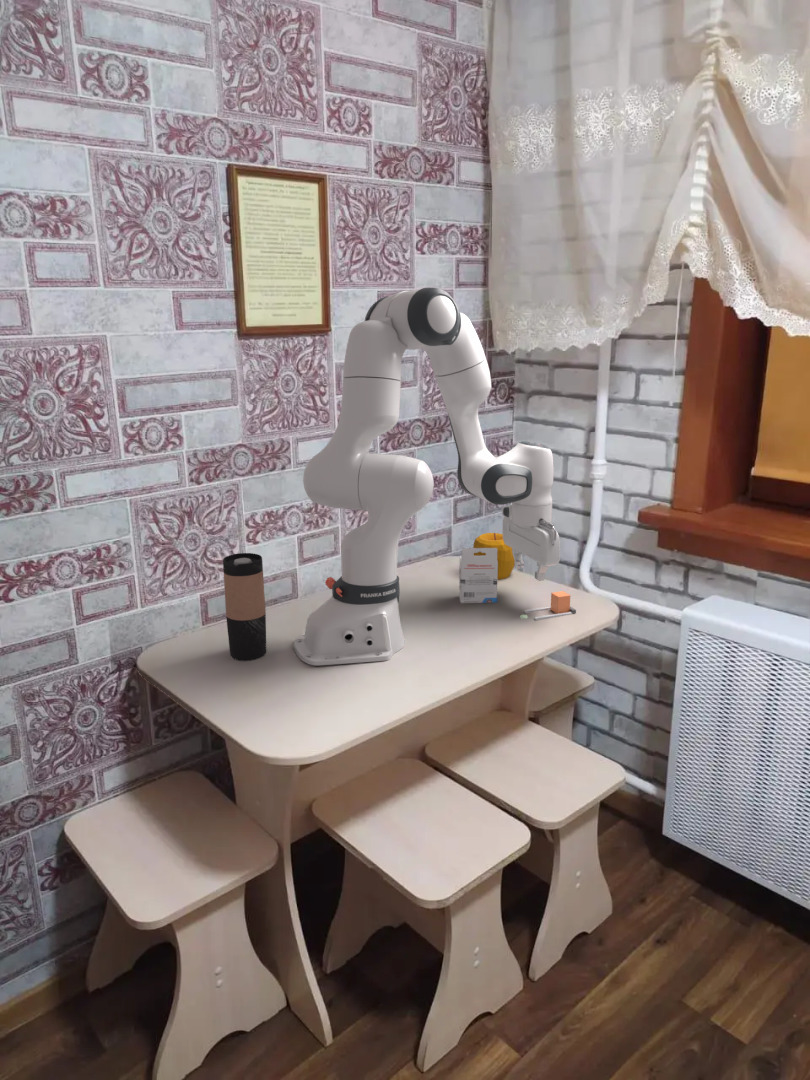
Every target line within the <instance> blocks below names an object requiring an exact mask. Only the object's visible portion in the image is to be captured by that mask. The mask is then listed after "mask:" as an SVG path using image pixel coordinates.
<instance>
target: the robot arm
mask: <svg viewBox="0 0 810 1080" xmlns="http://www.w3.org/2000/svg"><path fill="white" fill-rule="evenodd" d="M346 344H347V345H346V349H345V356H344V361H343V362H344V363H343V374H342V375H343V376H342V391H341V392H342V393H341V405H340V413H339V420H338V423H337V427H336V429H335V431H334V433H333V435H332V437H331V438H330V440H329V441H328V443H327V444H326V445H325V447H323V449H321V450H320V451H319V452H318V453H317V454H315V455H314V456H312V457H311V459H310V460H309V461H308V463H307V464H306V467H305V468H304V471H303V477H302V482H303V487H304V490H305V493H306V496H307V497H308V498H309V499H310V501H311V502H313V503H315V504H318V505H322V506H325V507H329V508H332V509H343V510H358V511H365V512H368V513H367V514H368V517H367V521H366V522H367V523H365V524H361V525H359V526H357V527H356V528H354V529H351V530H350V531H348V533H346V535H344V537H343V539H342V540H341V544H340V564H341V566H340V568H341V576H340V577H339V578H338V579H337V580H335V578H334V577H330V576H329V577H327V578H326V580H325V585H326V586H327V588H328V589H330V590H331V593H332V596H331V597H330V598H329V599H328V600H326V601H324V603H322V604H321V605H320V606H319V607H318V608H316V609H315V610H314V611H312V612H311V613H310V614H309V616H307V619H306V623H305V627H304V628H305V629H304V634H302V635H298V636H296V638H295V640H294V641H293V642H294V643H293V649H294V653H295V654H296V655H297V657H298V658H299V659H300V660H301V661H303V662H304V663H306V664H308V665H310V666H330V665H331V666H332V665H342V664H343V665H345V664H359V663H372V662H384V661H385V662H386V661H388V660H389V661H390V659H392V657H393V655H394V654H395V653H397V652H399V651H400V650H402V649H403V648H404V647H405V645H406V639H405V635H404V633H403V628H402V624H401V618H400V611H399V603H400V595H401V588H400V577H399V576H398V551H399V541H400V537H401V534H402V531H403V530H404V528H405V526H406V524H407V523H408V522H409V520H411V518H412V517H413V516H414V515H416V514H417V513H418V512H420V511H421V510H422V509H423V508H425V506H426V505H428V503H429V501H430V499H431V498H432V496H433V491H434V488H435V487H434V486H435V483H434V475H433V473H432V470H431V468H430V467H429V465H428V464H427V463H426V462H425V461H424V460H421V459H418V458H415V457H412V456H406V455H401V454H388V453H386V454H385V453H383V454H382V453H370V447H371V444H372V443H373V441H374V440H375V439H376V438H377V437H380V436H381V435H384V434H385V433H388V432H389V431H391V430H392V429H393V428H394V427H395V426H396V425H397V423H398V422H399V419H400V409H401V408H400V407H401V406H400V405H401V390H402V389H401V388H402V386H401V385H402V381H401V380H402V360H403V356H404V354H405V352H406V350H409V351H414V350H419V349H420V350H421V349H423V350H424V352H425V353H426V354H427V356H428V357H429V362H430V364H431V368H432V372H433V375H434V378H435V381H436V384H437V387H438V390H439V392H440V394H441V397H442V399H443V402H444V406H445V409H446V412H447V415H448V420H449V425H450V428H451V429H450V430H451V432H452V436H453V439H454V443H455V446H456V447H455V448H456V451H457V458H458V459H457V460H458V462H457V471H456V472H457V481H458V484H459V486H460V487H461V489H462V490H463V491H464V492H465V493H466V494H469V495H471V496H472V497H477V498H479V499H482V500H483V501H486V502H488V503H489V504H492V505H496V506H497V505H501V506H502V505H504V506H502V508H501V515H502V516H503V517H502V518H503V519H502V534H503V540H504V543H505V544H506V545H507V546H509V547H511V548H512V553H513V557H514V560H515V565H514V568H516V569H518V570H520V569H524V568H525V560H523V559H524V558H523V555H524V556H526V557H528V558H529V559H532V560H533V561H535V562H536V565H537V570H536V571H534V579H535V580H536V581H538V582H541V581H545V579H546V573H547V570H548V569H549V567H550V566H556V565H558V564H560V561H561V547H560V545H561V544H560V535H559V532H558V531H557V530H556V528H555V525H554V523H552V518H553V517H552V516H553V497H552V488H553V485H554V478H555V477H554V476H555V475H554V474H555V473H554V472H555V470H554V456H553V452H552V450H551V449H550V447H548V445H545V444H542V443H539V442H538V443H537V442H533V441H527V440H526V441H519V442H517V444H516V445H515V446H514V447H513V448H512V449H510V450H508V451H507V452H505V453H503V454H502V455H499V456H497V457H496V456H495V455H494V454H492V453H491V452H490V451H489V450H488V448H487V446H486V444H485V440H484V435H483V431H482V427H481V424H480V419H479V409H480V406H481V405H482V404H483V403H484V402H485V401H486V400H487V398H488V396H490V395H489V394H490V392H491V390H492V379H491V371H490V367H489V363H488V361H487V357H486V354H485V351H484V348H483V345H482V343H481V341H480V338H479V336H478V333H477V332H476V329H475V327H474V326H473V324H472V321H471V320H470V318H469V317H468V316H467V315H466V314H464V313H463V312H460V310H459V307H458V305H457V303H456V301H455V300H454V298H453V297H452V296H451V295H450V294H449V293H448V291H445V290H444V289H441V288H437V287H422V288H420V289H413V290H412V289H411V290H403V291H399V292H396V293H394V294H391V295H389V296H385V297H384V296H383V297H382V298H380V299H378V300H377V301H375V302H374V303H373V304H372V305H370V307H369V309H368V310H367V313H366V314H365V318H364V321H361V322H359V323H357V324H355V325H354V326H353V328H352V329H351V331H350V332H349V335H348V340H347V343H346ZM507 504H508V505H507Z"/></svg>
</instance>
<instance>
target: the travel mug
mask: <svg viewBox="0 0 810 1080" xmlns="http://www.w3.org/2000/svg"><path fill="white" fill-rule="evenodd" d="M222 567H223V568H222V570H223V584H224V602H225V603H224V604H225V616H226V617H225V619H226V627H227V637H228V639H227V640H228V647H229V655H230V658H231V659H233V660H235V661H238V662H239V661H240V662H248V661H255V660H259V659H260V658H263V657H264V656H265V655H266V654H267V622H266V621H267V614H266V612H267V610H266V598H265V582H264V581H265V580H264V568H263V557H262V556H261V555H260V554H257V553H252V552H246V553H245V552H240V553H233V554H231V555H230V554H229V555H226V556H225V557H224V558H223V559H222Z"/></svg>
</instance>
